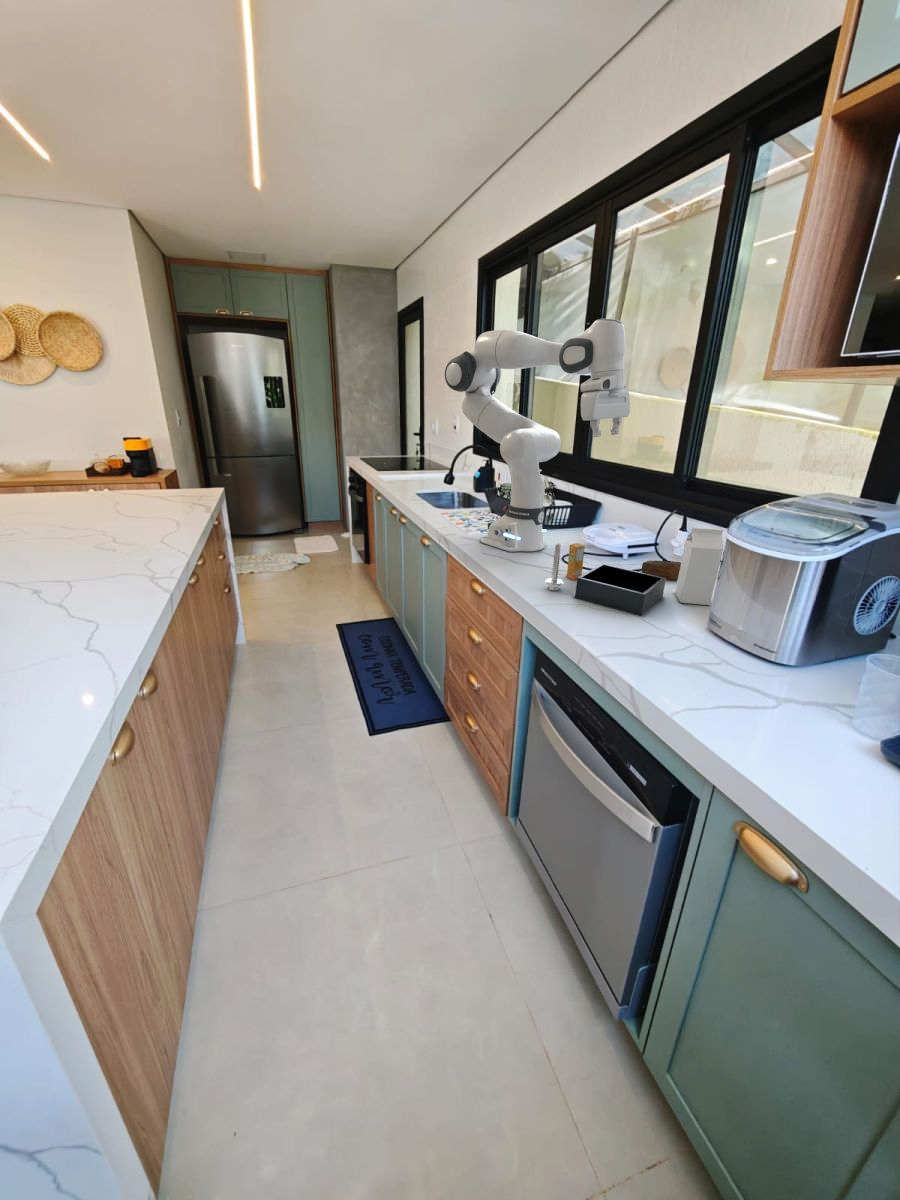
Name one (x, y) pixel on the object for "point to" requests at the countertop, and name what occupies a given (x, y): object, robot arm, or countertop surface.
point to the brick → (662, 569)
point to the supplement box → (575, 561)
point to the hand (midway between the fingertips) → (605, 435)
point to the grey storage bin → (620, 588)
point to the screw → (555, 571)
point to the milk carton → (699, 566)
